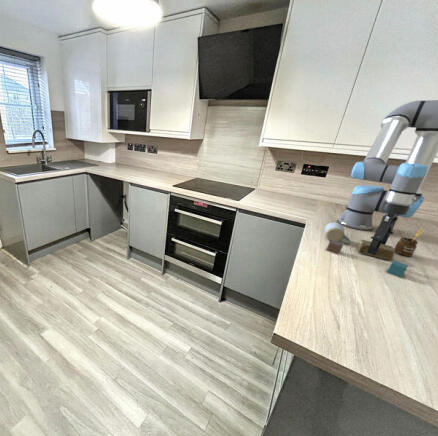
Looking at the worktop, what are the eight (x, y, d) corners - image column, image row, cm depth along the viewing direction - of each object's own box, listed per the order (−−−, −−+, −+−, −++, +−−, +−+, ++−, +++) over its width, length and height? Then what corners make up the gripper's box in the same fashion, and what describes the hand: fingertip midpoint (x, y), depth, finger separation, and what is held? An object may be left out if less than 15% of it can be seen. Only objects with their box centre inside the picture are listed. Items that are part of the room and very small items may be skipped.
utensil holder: (389, 250, 107) (400, 225, 103) (403, 250, 107) (415, 226, 103) (401, 256, 102) (414, 231, 98) (416, 257, 102) (429, 232, 97)
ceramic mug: (323, 239, 114) (328, 225, 111) (322, 234, 120) (327, 220, 118) (350, 246, 109) (357, 231, 106) (348, 240, 115) (354, 226, 112)
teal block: (389, 269, 91) (393, 260, 90) (403, 274, 88) (408, 265, 87) (386, 272, 89) (391, 263, 88) (401, 277, 86) (406, 268, 85)
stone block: (355, 248, 107) (359, 238, 105) (389, 256, 101) (394, 246, 100) (357, 253, 103) (361, 243, 101) (392, 262, 97) (398, 251, 95)
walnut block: (329, 247, 106) (332, 239, 105) (340, 251, 103) (343, 243, 102) (326, 250, 104) (329, 241, 103) (337, 253, 101) (340, 245, 100)
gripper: (403, 210, 84) (379, 261, 91) (415, 201, 98) (393, 247, 105) (376, 204, 89) (355, 253, 97) (391, 197, 103) (372, 240, 111)
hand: (375, 250), depth 101 cm, fingers open, 13 cm apart
